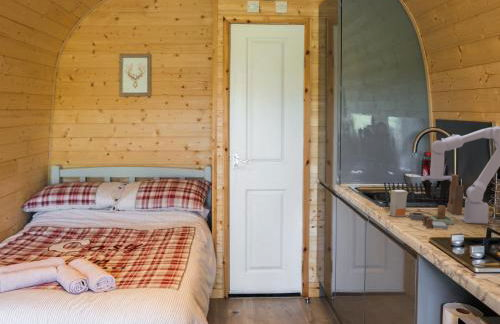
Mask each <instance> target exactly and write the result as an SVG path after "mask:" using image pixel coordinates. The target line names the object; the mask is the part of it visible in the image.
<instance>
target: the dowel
mask: <svg viewBox="0 0 500 324" xmlns="http://www.w3.org/2000/svg"><path fill="white" fill-rule="evenodd" d="M446 210H447V206H446V205H444V204H440V205H439V204H438V205H437V215H436V216H437V219H440V220H445V216H446Z"/></svg>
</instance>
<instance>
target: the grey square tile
mask: <svg viewBox="0 0 500 324" xmlns="http://www.w3.org/2000/svg"><path fill="white" fill-rule="evenodd" d="M433 228H442V229H441V230H448V229H449V225H446V224H445V223H443V222H433V225H432V229H433Z"/></svg>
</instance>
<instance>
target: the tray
mask: <svg viewBox="0 0 500 324" xmlns="http://www.w3.org/2000/svg"><path fill="white" fill-rule="evenodd" d="M428 216H429V217H430V218H432V219H433V222H443V223H445V224H449V225H450V226H451V225H452V226H454V223H455V220H454V219H453V218H451V217H450V216H449V215H445V220H440V219H437V215H432V214H431V215H430V214H429V215H428ZM449 225H448V226H449Z"/></svg>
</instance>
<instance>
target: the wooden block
mask: <svg viewBox="0 0 500 324" xmlns="http://www.w3.org/2000/svg"><path fill="white" fill-rule="evenodd" d="M450 176H451V177H452V181H451V184H450V185H449V194H448V202H447V206H446V210H447V211H449V212H450V213H452V214H453V215H459V216H460V215H462V214H463V213H462V212H463V200H464V189H465V186H464V185H459V174H453V173H452V174H450Z"/></svg>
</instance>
